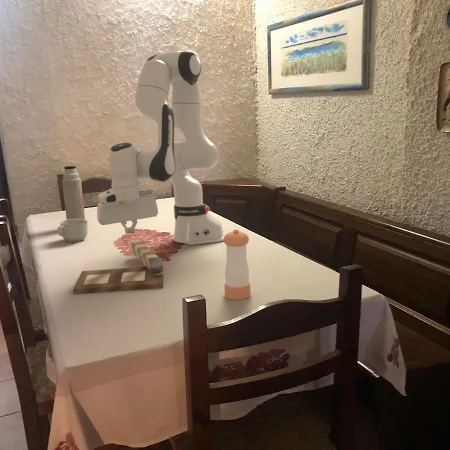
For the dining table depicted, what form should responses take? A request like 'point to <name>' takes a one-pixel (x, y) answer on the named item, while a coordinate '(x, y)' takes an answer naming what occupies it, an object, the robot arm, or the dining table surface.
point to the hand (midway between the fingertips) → (130, 233)
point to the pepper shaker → (236, 266)
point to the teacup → (73, 229)
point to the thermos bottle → (73, 194)
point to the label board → (117, 280)
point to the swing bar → (146, 256)
